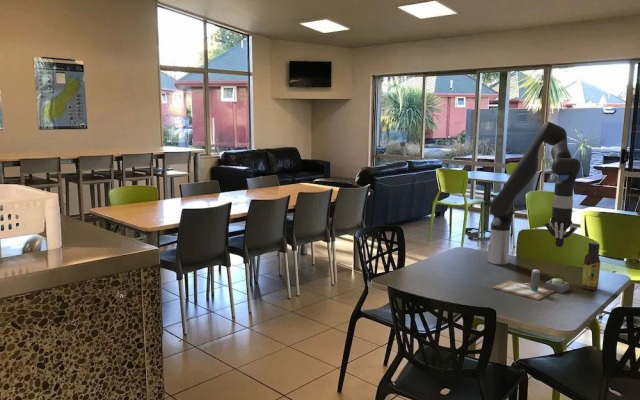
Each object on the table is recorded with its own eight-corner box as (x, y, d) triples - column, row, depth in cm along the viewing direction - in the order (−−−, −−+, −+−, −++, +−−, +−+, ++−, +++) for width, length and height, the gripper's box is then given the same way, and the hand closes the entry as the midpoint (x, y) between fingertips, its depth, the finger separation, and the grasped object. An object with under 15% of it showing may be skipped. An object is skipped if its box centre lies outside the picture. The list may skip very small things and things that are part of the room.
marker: (528, 290, 217) (530, 270, 215) (532, 288, 219) (534, 268, 217) (536, 292, 214) (538, 272, 213) (539, 290, 216) (541, 270, 215)
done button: (549, 287, 220) (550, 279, 219) (553, 285, 223) (554, 277, 222) (559, 289, 217) (560, 281, 217) (563, 287, 220) (564, 279, 219)
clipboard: (492, 288, 221) (492, 286, 221) (509, 281, 231) (509, 278, 231) (538, 300, 206) (538, 297, 206) (554, 292, 216) (554, 289, 216)
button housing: (544, 289, 220) (545, 282, 220) (551, 285, 225) (552, 279, 224) (561, 293, 215) (561, 286, 215) (568, 289, 220) (568, 282, 219)
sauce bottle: (591, 291, 217) (595, 245, 214) (578, 287, 223) (581, 242, 220) (601, 289, 220) (605, 243, 217) (587, 285, 226) (591, 240, 223)
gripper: (582, 207, 212) (579, 248, 215) (550, 203, 222) (547, 242, 224) (575, 209, 207) (571, 251, 210) (542, 205, 217) (539, 245, 219)
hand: (559, 246), depth 217 cm, fingers closed
